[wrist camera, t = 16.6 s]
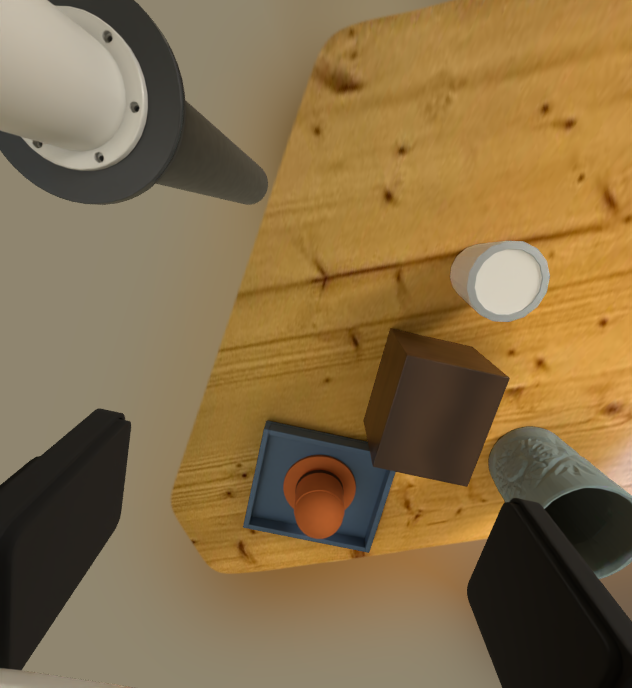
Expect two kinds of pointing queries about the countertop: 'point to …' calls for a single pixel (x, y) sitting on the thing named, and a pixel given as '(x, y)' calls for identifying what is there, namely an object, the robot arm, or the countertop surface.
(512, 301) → the shot glass
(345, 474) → the hat
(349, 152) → the countertop surface
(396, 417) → the stand block
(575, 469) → the grey-green cup
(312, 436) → the tray
